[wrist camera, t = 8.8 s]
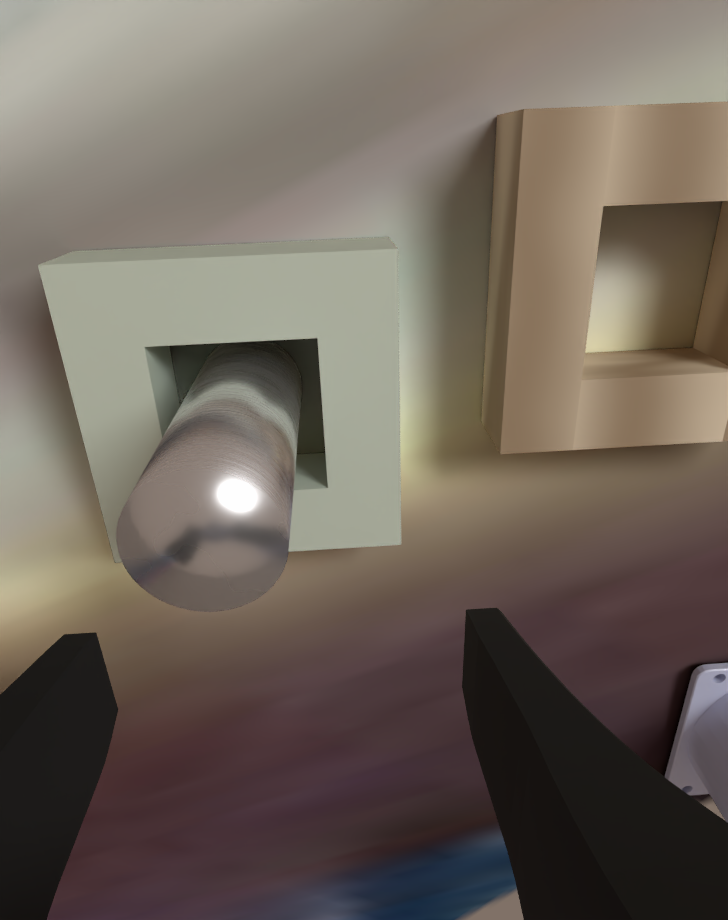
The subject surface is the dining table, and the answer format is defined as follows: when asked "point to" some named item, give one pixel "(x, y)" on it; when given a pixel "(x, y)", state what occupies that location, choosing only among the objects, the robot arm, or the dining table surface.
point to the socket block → (572, 278)
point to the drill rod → (219, 485)
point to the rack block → (240, 320)
